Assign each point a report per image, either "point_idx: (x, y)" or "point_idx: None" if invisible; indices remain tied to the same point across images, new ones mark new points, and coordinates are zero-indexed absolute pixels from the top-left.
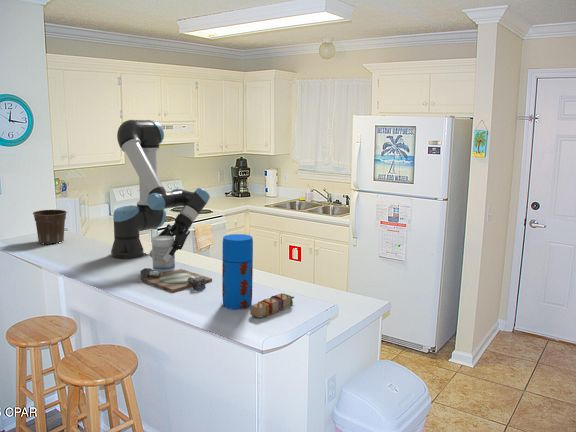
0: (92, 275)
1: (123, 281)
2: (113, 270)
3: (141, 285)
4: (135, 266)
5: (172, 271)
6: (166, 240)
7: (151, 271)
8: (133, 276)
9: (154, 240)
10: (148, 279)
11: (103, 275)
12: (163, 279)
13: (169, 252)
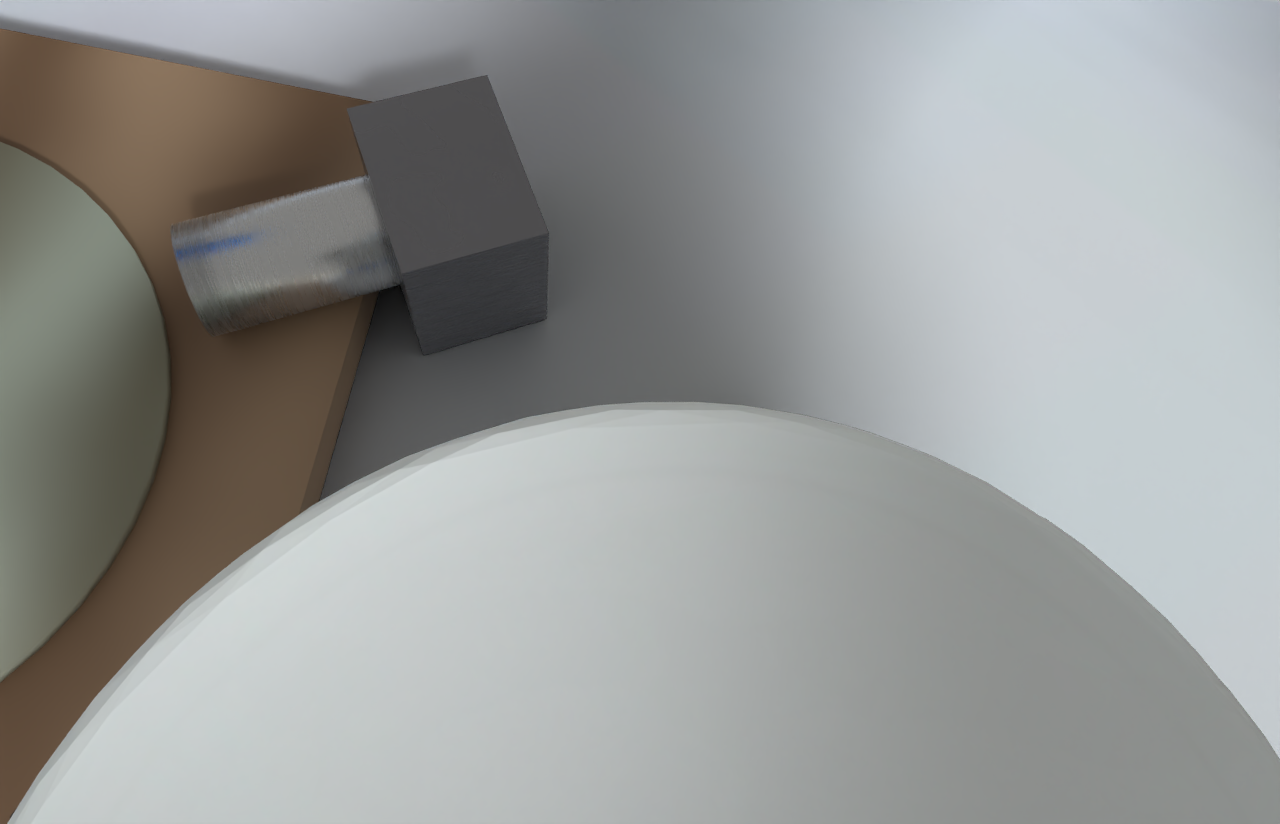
0: (1230, 23)
1: (668, 27)
2: (1265, 329)
3: (300, 15)
4: None
5: None
6: (64, 743)
7: (325, 198)
8: (747, 261)
9: (762, 418)
10: (294, 130)
11: (1128, 87)
12: (11, 212)
13: None
